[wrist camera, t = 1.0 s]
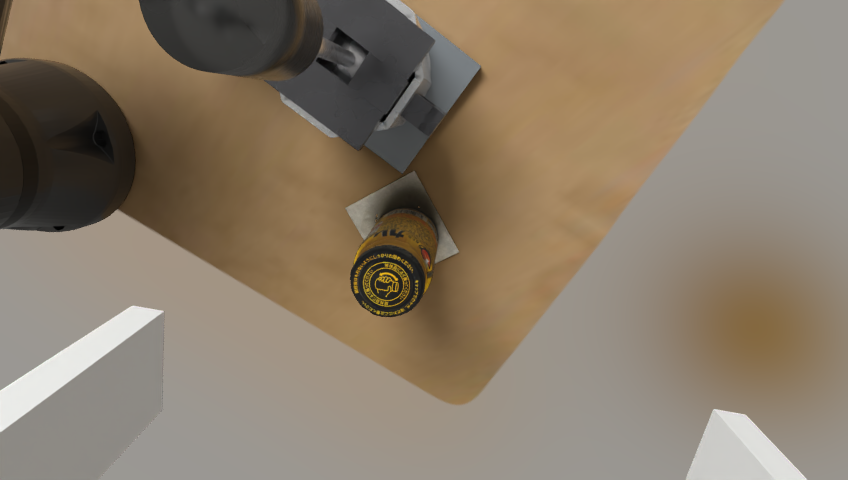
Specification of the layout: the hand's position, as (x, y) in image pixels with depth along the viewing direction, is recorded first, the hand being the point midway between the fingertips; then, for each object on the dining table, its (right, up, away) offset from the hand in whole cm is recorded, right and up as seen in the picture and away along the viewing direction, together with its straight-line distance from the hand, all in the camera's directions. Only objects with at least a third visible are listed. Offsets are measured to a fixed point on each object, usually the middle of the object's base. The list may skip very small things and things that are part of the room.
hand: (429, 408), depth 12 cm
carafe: (-3, +18, +29) cm, 34 cm away
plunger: (-5, +16, +20) cm, 26 cm away
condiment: (-2, +5, +33) cm, 34 cm away
